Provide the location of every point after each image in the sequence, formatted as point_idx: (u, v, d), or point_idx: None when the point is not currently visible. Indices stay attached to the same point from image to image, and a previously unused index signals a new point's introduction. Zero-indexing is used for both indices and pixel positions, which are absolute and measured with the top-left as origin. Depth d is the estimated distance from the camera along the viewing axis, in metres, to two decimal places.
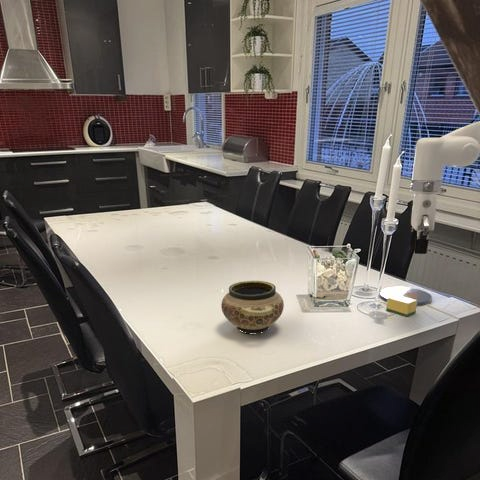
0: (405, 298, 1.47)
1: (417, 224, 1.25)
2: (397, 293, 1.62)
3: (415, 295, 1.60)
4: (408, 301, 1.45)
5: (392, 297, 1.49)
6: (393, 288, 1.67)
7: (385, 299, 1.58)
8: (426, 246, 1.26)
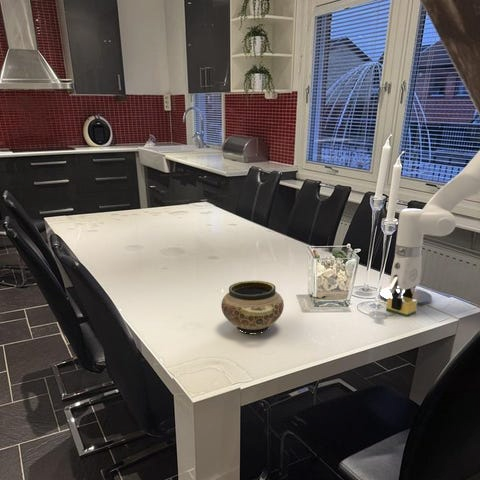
0: (405, 298, 1.47)
1: (390, 281, 1.43)
2: None
3: (415, 295, 1.60)
4: (408, 301, 1.45)
5: None
6: None
7: (385, 299, 1.58)
8: (399, 304, 1.45)
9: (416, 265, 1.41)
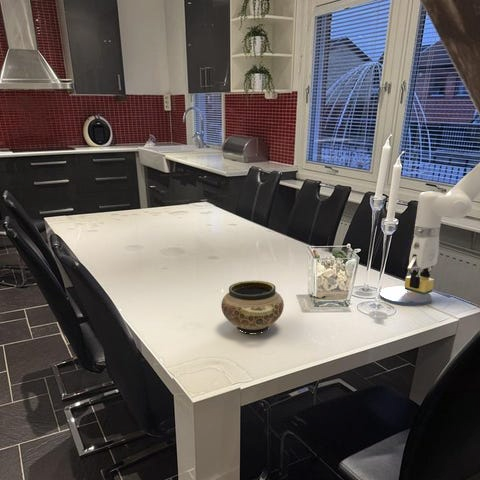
0: (422, 277, 1.55)
1: (409, 261, 1.51)
2: (397, 293, 1.62)
3: (415, 295, 1.60)
4: (425, 280, 1.53)
5: (410, 276, 1.56)
6: (393, 288, 1.67)
7: (385, 299, 1.58)
8: (417, 282, 1.52)
9: (434, 245, 1.49)
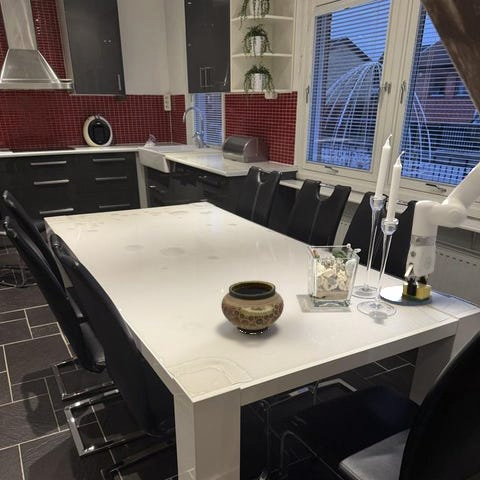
0: (420, 284, 1.57)
1: (406, 269, 1.53)
2: (397, 293, 1.62)
3: None
4: (423, 287, 1.54)
5: (407, 283, 1.58)
6: (393, 288, 1.67)
7: (385, 299, 1.58)
8: (414, 290, 1.54)
9: (430, 254, 1.51)
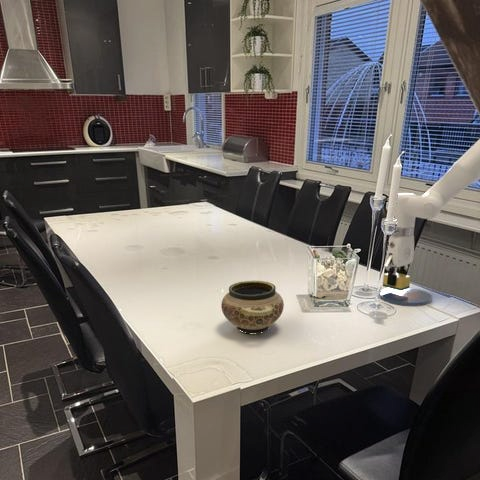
0: (400, 274, 1.62)
1: (386, 260, 1.58)
2: (397, 293, 1.62)
3: (415, 295, 1.60)
4: (402, 277, 1.59)
5: None
6: None
7: (385, 299, 1.58)
8: (394, 280, 1.59)
9: (409, 244, 1.56)
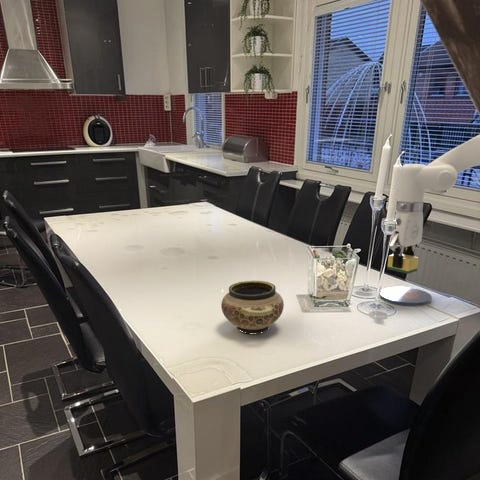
0: (406, 256, 1.46)
1: (391, 239, 1.42)
2: (397, 293, 1.62)
3: (415, 295, 1.60)
4: (409, 258, 1.43)
5: None
6: (393, 288, 1.67)
7: (385, 299, 1.58)
8: (400, 262, 1.43)
9: (417, 222, 1.40)
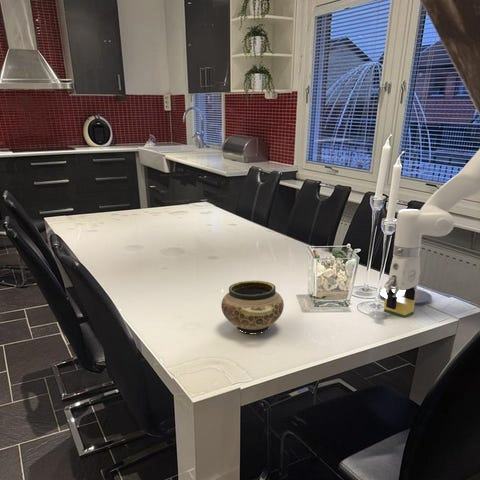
0: (403, 299, 1.47)
1: None
2: (397, 293, 1.62)
3: (415, 295, 1.60)
4: (406, 302, 1.44)
5: None
6: None
7: None
8: (394, 303, 1.43)
9: (414, 266, 1.41)
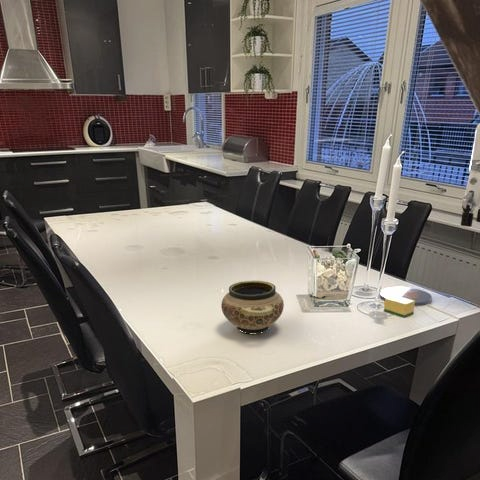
0: (403, 299, 1.47)
1: None
2: (397, 293, 1.62)
3: (415, 295, 1.60)
4: (406, 302, 1.44)
5: (390, 298, 1.48)
6: (393, 288, 1.67)
7: None
8: (470, 219, 1.41)
9: None
